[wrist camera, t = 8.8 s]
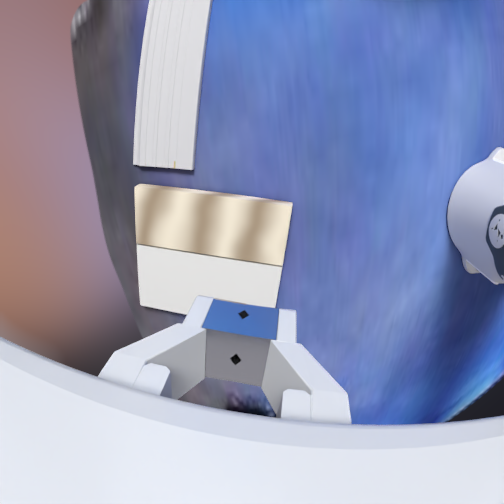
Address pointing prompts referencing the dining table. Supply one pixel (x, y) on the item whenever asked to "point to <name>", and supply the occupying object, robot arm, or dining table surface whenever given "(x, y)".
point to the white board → (202, 279)
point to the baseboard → (170, 83)
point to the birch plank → (212, 223)
